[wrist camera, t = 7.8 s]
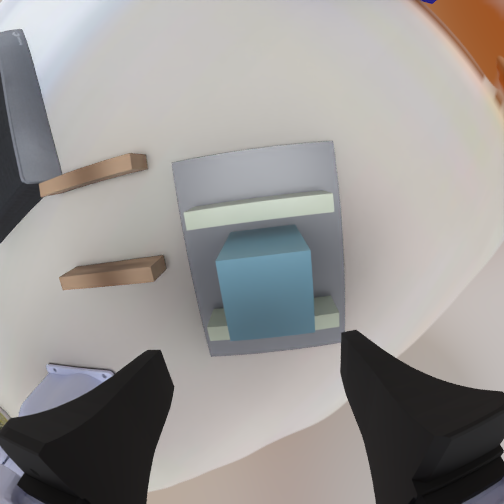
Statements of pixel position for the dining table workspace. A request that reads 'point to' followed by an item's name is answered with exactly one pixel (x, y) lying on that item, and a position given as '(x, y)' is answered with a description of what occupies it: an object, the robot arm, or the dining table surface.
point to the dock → (263, 216)
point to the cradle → (111, 271)
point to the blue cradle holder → (429, 1)
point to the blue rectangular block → (266, 283)
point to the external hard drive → (21, 133)
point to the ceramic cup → (3, 418)
